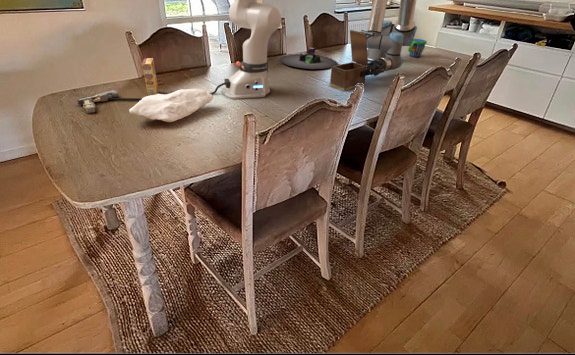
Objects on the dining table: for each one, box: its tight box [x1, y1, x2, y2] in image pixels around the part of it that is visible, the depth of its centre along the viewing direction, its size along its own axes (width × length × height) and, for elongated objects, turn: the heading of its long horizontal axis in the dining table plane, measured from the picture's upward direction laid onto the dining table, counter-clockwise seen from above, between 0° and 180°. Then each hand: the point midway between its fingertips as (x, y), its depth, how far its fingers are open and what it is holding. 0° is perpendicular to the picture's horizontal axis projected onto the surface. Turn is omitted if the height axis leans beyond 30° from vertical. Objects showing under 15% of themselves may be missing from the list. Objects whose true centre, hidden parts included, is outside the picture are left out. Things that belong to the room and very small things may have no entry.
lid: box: [349, 29, 375, 66], centre depth 183 cm, size 16×10×8 cm
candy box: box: [141, 57, 160, 96], centre depth 163 cm, size 9×4×15 cm, turn 13°
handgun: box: [76, 89, 120, 114], centre depth 155 cm, size 3×18×15 cm
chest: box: [329, 61, 367, 92], centre depth 186 cm, size 16×10×10 cm, turn 129°
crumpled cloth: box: [129, 88, 214, 123], centre depth 147 cm, size 24×35×9 cm
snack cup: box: [407, 38, 428, 58], centre depth 243 cm, size 16×10×10 cm
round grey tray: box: [279, 46, 338, 70], centre depth 221 cm, size 35×35×9 cm
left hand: (364, 4), depth 171 cm, fingers open, 8 cm apart
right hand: (353, 71), depth 187 cm, fingers closed on chest, 10 cm apart
